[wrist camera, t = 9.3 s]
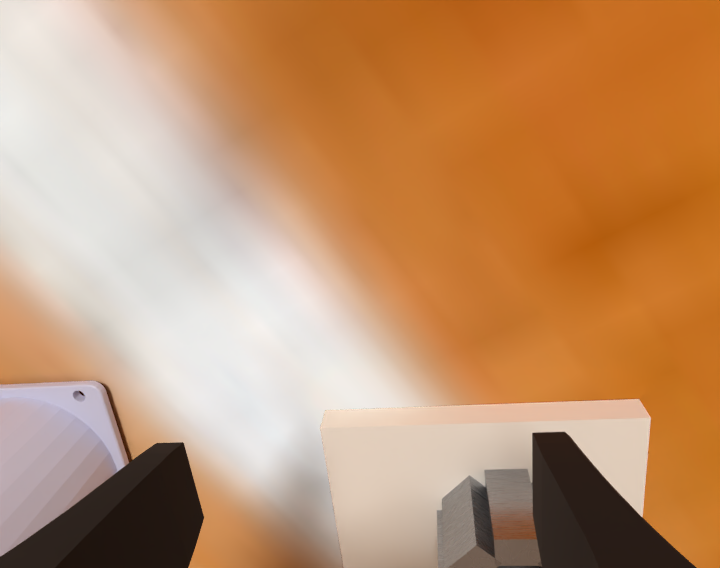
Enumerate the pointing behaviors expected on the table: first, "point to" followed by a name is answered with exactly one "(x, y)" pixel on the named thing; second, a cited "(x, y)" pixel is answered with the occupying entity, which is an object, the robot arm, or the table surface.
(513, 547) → the steel gear
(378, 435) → the gear board
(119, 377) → the table surface
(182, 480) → the robot arm
